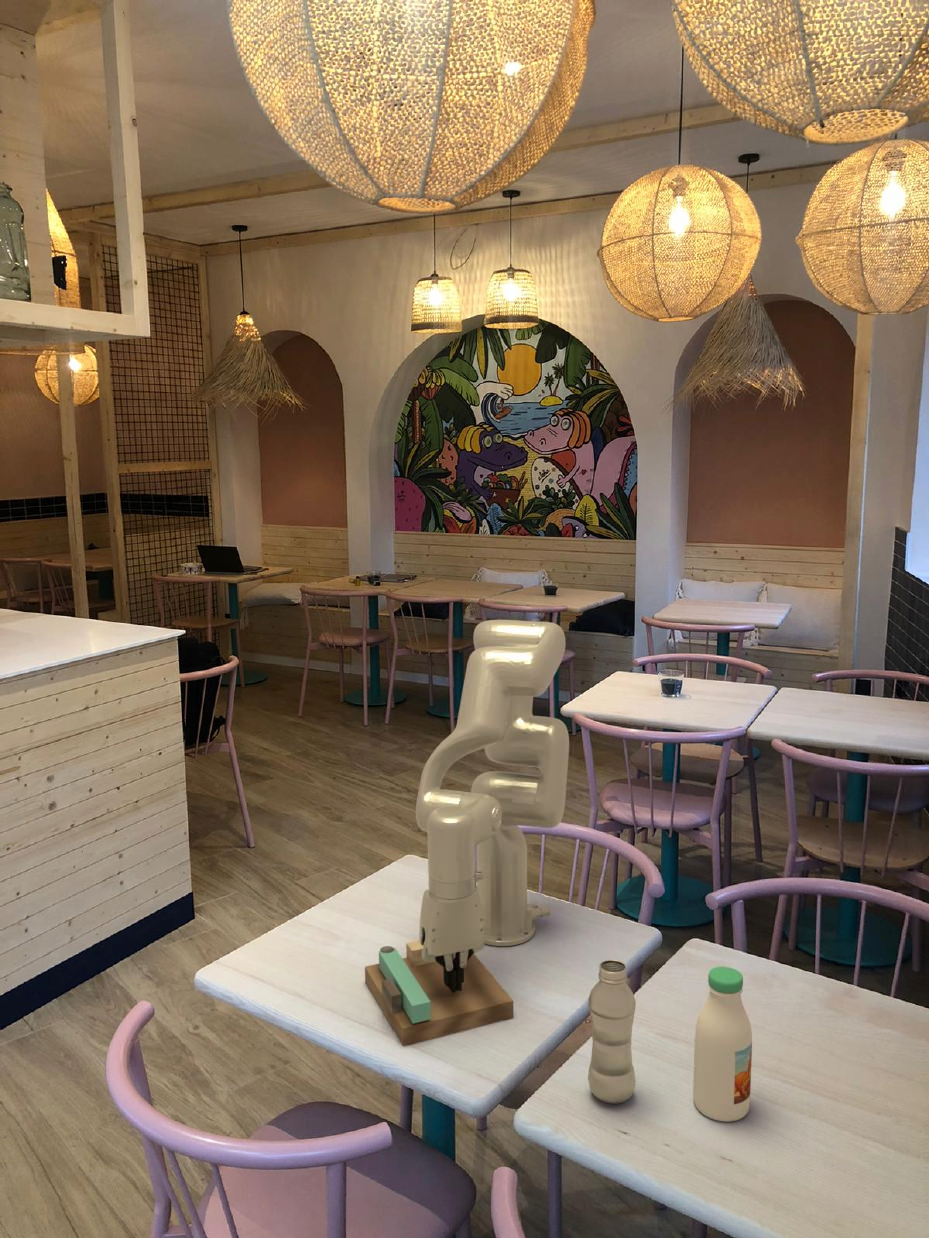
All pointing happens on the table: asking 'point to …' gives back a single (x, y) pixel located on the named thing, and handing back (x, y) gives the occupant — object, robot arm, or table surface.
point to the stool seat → (440, 998)
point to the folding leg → (405, 985)
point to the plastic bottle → (611, 1034)
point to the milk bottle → (723, 1049)
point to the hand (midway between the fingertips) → (453, 987)
